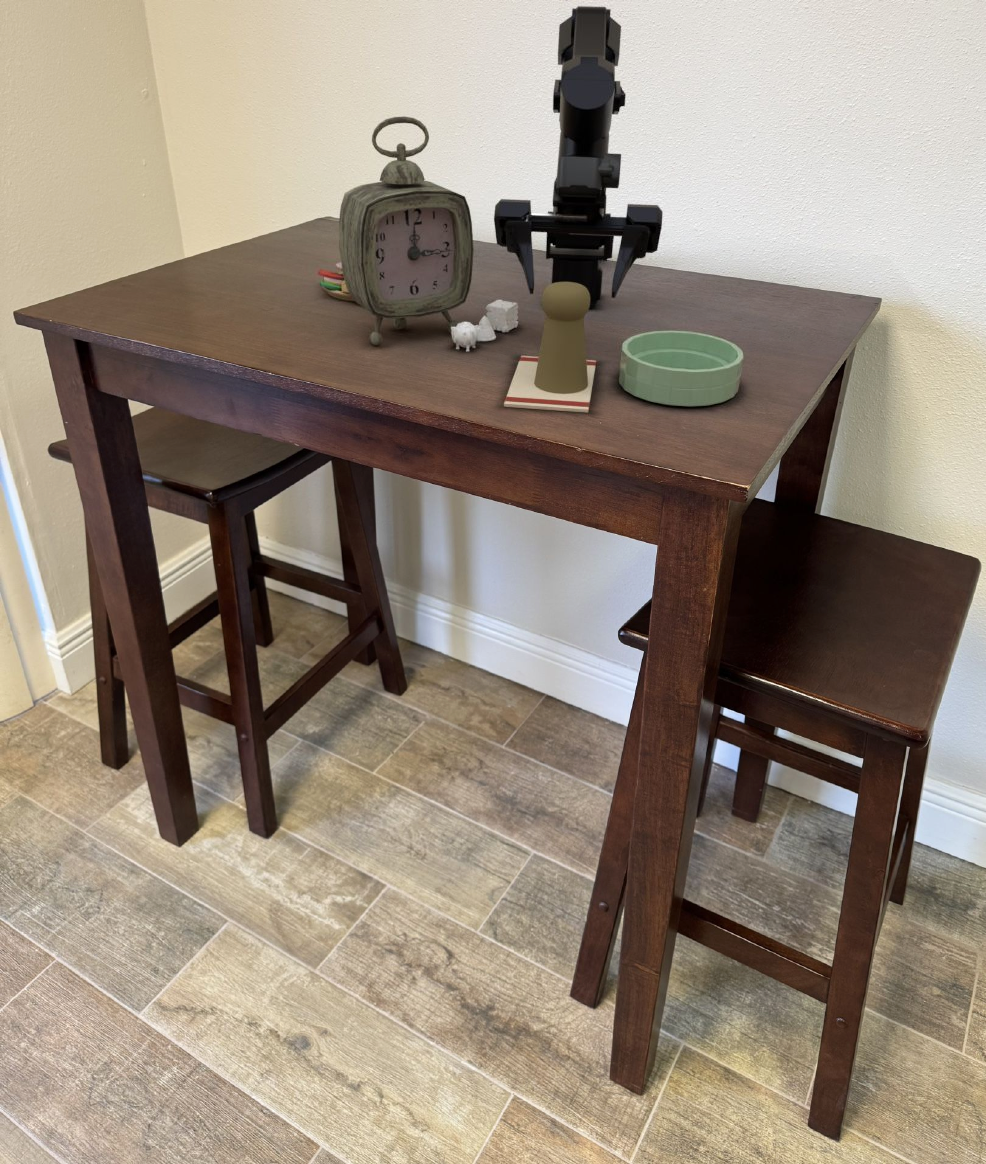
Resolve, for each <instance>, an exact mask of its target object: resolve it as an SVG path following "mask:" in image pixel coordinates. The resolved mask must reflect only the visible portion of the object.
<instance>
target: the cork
mask: <svg viewBox="0 0 986 1164" xmlns="http://www.w3.org/2000/svg"><path fill="white" fill-rule="evenodd" d="M540 305H541V309H542V311H543V312H544V314H545V319H544V326H543V331H542V337H541V341H540V342H541V343H540V347H539V354H538V357H539V359H538V364H537V370H536V376H535V381H534V384H535V386H536V387H537V388H539V389H540V390H543V391H546V392H551V393H558V394H570V393H576V392H580V391H583V390H585V389H586V388H587V387H588V375H587V360H588V359H587V346H586V330H585V326H586V325H585V316H586V315H587V314H588V312H589V309H590V308H589V307H590V293H589V291H588V289H587V288H586V287H585V286H583V285H581V284H578V283H574V282H556V283H552V282H551V283H550V284H549V285H546V286H545V288H544V290H543V292H542V295H541V304H540Z"/></svg>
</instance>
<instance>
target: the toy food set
mask: <svg viewBox="0 0 986 1164" xmlns="http://www.w3.org/2000/svg"><path fill="white" fill-rule="evenodd" d="M335 268H336V269H337V270H339V271H340V272H334V271H331V270H325V269H318V270H317V274H318V275H319V276H321V277H323V279H322V280H321V281H319V286H320V287H321V288H322V289H323V290H324V291H325V292H327V294H328V295H329V296H331V297H333V298H335V299H338V300H342V301H347V302H348V301H349V302H354V303H355V302H356V301H355V300H353V299H352V298H351V296H350V294H349V292H348V290H347V287H346V284H345V280H344V276H343V270H342V263H341V261H340V262H337V263H336V264H335ZM356 303H357V302H356Z"/></svg>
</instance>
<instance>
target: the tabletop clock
mask: <svg viewBox="0 0 986 1164" xmlns="http://www.w3.org/2000/svg"><path fill="white" fill-rule="evenodd" d="M396 124H411V125H413V126H417V127H418V128H419V129H420V130H421V131H422V133H423V134H424V141H423V143H422V144H420V145H419V146H418V147H415V148H413V149H408V150H407V149H406V148H407V146H406V145H405V144H404V143H401V142H400V143H398V144H397V145H396V150H388V149H383V148H382V147H380V146H379V145H378V143H377V136H378V135H379V133H380V132H381V131H382V130H383V129H384V128H386V127H388V126H391V125H396ZM429 140H430V134H429V131H428V128H427V127H426V125H425V124H424V123H423V122H422V121H421V120H418V119H417V118H415V117H410V116H393V117H389V118H386V119H383V121H381V122H379V123H378V125H377V126H376V127H375V128H374V130H373V133H372V136H371V143H372V146H373V148H374V149H375V150H376V151H377V152H378V153H379V154H381V155H382V156H385V157H388V158H393V160H391V161H390V162H388V163H387V164H386V165H385V166H384V168H383V169H382V171H381V173H380V177H379V181H377V182H372V183H371V182H370V183H366V184H360V185H358V186H355V187H353V188H351V189H350V190H348V191H346V192H344V195H343V196H342V197H343V198H342V201H341V203H340V208H339V209H340V211H339V219H338V220H339V221H338V227H339V228H338V238H339V239H338V240H339V241H338V243H339V244H338V245H339V246H338V248H339V257H340V262H341V263H342V270H343V271H342V272H343V276H344V280H345V284H346V287H347V290H348V292H349V294H350V296H351V298H352V299H353V300H355V301H356V304H358V305H360V306H361V307H362V308H364V309H365V310H366V311H368V312H369V313H370V314H372V315H373V316H375V321H374V324H375V325H374V331H372V332H370V334H368V342H369V344H371V346H379V345H380V344H381V343H382V340H383V338H382V335H381V333H380V329H381V326H382V323H383V319H394V321H393V325H394V327H395V328H396V329H397V330H404V329H405V328H406V327H407V325H408V324H407V323H408V322H407V319H408V318H421V317H426V316H431V315H434V314H439V313H441V314H442V316H443V317H444V318H445V320H446V321H447V326H446V327H447V331H448V332H449V333H451V332H452V330H451V327H456V326H457V324H458V323H459V321H458V320H455V319H454V320H453V319H452V317H451V315H450V313H449V311H451V310H454V309H456V308H458V307H459V306H461V305H462V304H464V303H466V301H467V298H468V296H469V292H470V288H471V283H472V278H473V277H472V275H473V263H474V251H475V249H474V237H473V236H474V235H473V221H472V215H471V210H470V207H469V204H468V201H467V199H466V196H464V195H462V194H460V193H458V192H456V191H453V190H451V189H448V188H446V187H444V186H441V185H439V184H436V183H434V182H431V181H429V180H425V175H424V172H423V171H422V169H421V167H420V166H419V165H418V164H417V163H416V162H414V161H412V160H409V159H407V158H410V157H413V156H416V155H417V154H420V153H422V152H423V151H424V150H425V148H426V147H427V146H428V144H429ZM355 301H354V302H355Z"/></svg>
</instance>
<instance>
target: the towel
mask: <svg viewBox="0 0 986 1164" xmlns="http://www.w3.org/2000/svg"><path fill="white" fill-rule="evenodd" d="M538 359H539V356H531V355H520V357H519V359H518V360H519V361H518V364H517V366H516V369H515V372H514V375H513V376H512V377H513V378H512V380H511V383H510V386H509V388H508V391H507V394H506V397H505V399H504V403H503V407H504V408H515V409H517V408H518V409H529V410H530V409H532V410H544V411H558V412H573V413H584V414H585V413H587V414H589V410H590V404H591V397H592V392H593V386H594V379H595V373H596V367H597V360H594V359H587V375H588V387H587V388H586V389H585V390H583V391H580V392H576V393H570V394H558V393H551V392H546V391H543V390H540V389H539V388H537V387H536V386H535V384H534V381H535V376H536V370H537V364H538Z"/></svg>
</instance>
